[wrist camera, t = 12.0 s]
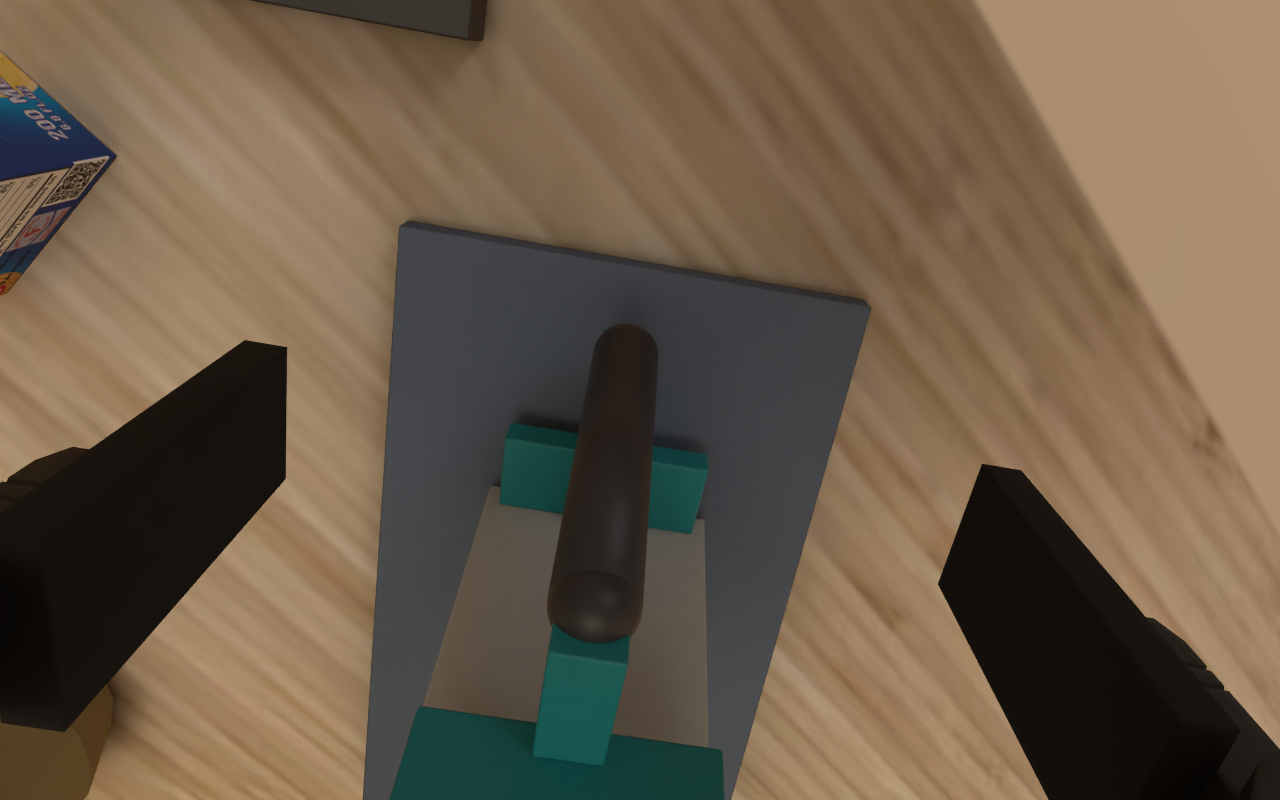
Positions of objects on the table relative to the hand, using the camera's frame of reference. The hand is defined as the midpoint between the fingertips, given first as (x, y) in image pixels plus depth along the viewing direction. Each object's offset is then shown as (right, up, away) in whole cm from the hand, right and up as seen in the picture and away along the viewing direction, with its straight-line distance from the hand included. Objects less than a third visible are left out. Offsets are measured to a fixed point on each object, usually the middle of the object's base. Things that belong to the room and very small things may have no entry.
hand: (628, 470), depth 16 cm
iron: (-2, -8, +9) cm, 12 cm away
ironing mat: (-2, -6, +18) cm, 19 cm away
